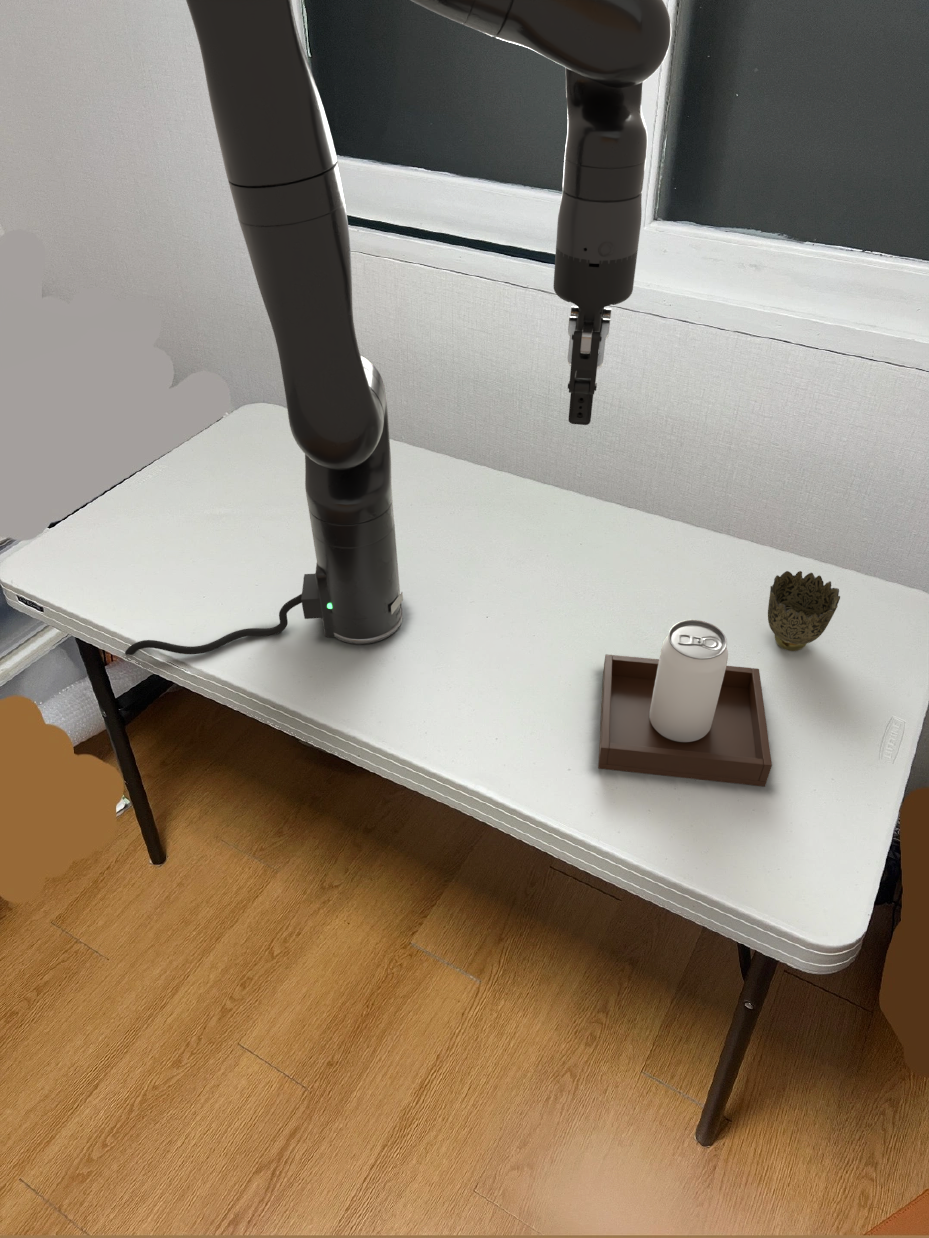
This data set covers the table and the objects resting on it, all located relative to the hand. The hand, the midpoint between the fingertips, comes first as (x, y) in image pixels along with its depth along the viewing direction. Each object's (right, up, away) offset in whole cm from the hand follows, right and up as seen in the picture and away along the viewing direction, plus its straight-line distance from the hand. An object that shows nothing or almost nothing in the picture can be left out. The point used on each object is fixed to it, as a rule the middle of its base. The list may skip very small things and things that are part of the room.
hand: (582, 402), depth 93 cm
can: (+11, -34, +2) cm, 35 cm away
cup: (+26, -25, +12) cm, 38 cm away
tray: (+11, -34, +2) cm, 36 cm away
